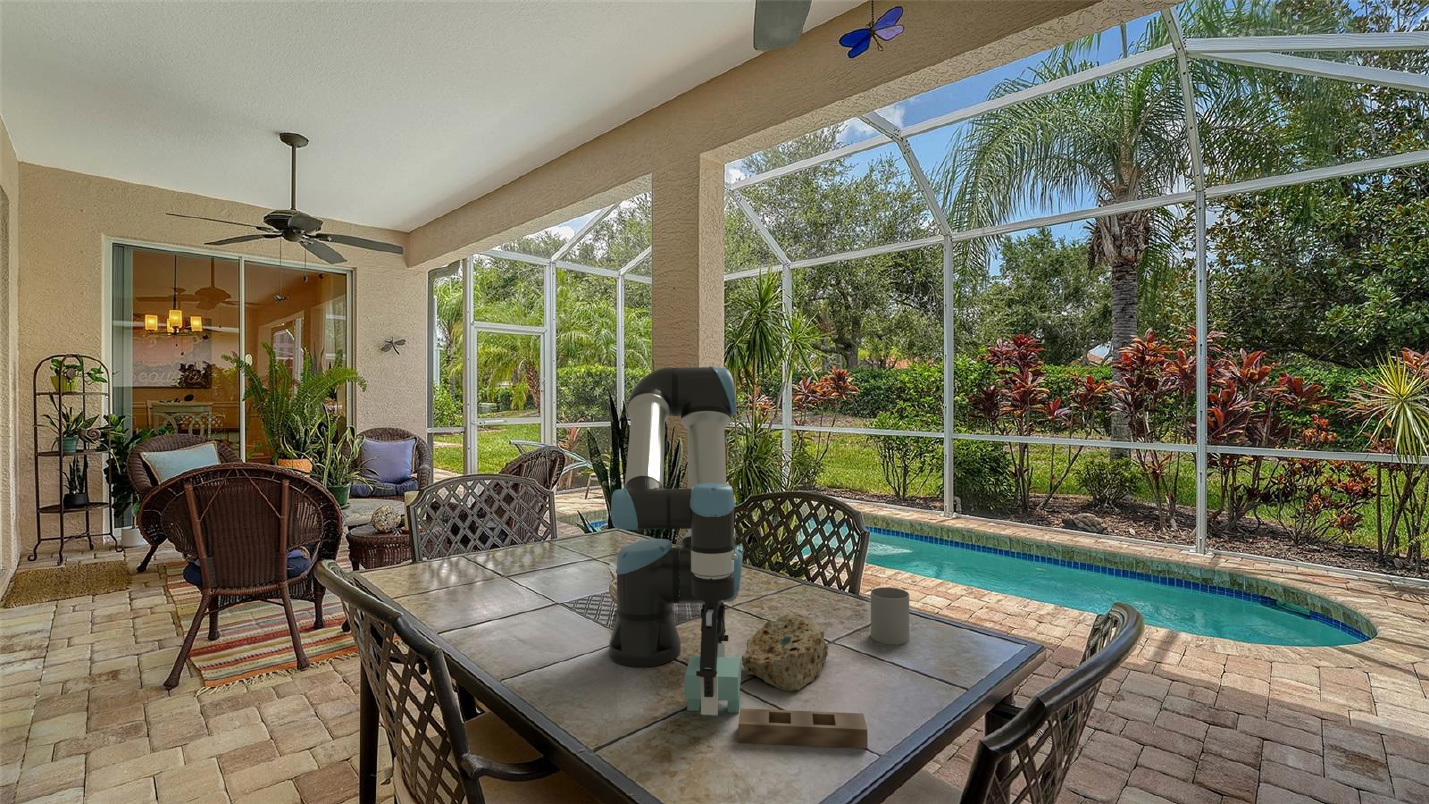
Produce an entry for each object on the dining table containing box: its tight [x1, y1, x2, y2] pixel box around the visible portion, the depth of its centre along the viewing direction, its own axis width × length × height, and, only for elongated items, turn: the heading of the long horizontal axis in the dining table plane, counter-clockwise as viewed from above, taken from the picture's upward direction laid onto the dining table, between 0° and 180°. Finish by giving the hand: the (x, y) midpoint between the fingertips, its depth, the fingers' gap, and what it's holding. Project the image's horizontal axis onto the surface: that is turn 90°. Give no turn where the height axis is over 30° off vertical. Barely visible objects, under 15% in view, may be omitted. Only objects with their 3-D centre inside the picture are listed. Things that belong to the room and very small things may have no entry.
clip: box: [684, 655, 742, 714], centre depth 114 cm, size 9×8×8 cm
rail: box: [737, 707, 868, 750], centre depth 105 cm, size 20×5×3 cm, turn 84°
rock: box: [741, 613, 829, 692], centre depth 131 cm, size 21×14×10 cm
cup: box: [870, 586, 910, 645], centre depth 146 cm, size 8×8×10 cm
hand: (713, 695), depth 114 cm, fingers open, 13 cm apart
